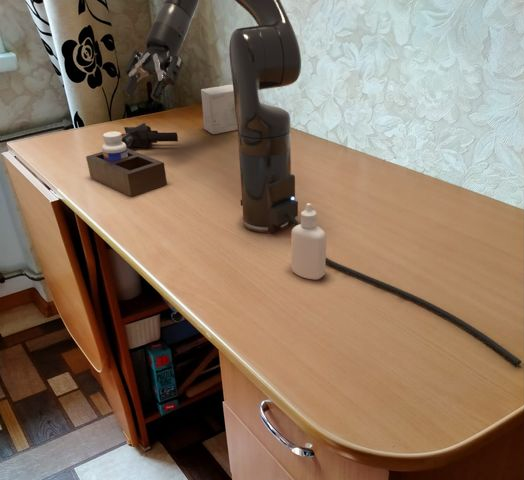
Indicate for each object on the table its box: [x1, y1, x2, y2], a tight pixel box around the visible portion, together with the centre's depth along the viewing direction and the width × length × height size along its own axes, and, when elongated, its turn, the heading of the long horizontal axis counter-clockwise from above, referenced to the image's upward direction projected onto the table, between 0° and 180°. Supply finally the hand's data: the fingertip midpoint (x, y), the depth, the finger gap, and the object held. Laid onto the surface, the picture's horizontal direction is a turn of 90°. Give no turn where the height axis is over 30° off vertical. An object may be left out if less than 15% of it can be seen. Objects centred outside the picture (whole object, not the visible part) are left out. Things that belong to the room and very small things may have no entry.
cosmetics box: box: [200, 83, 238, 135], centre depth 156 cm, size 10×6×10 cm, turn 119°
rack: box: [85, 148, 168, 198], centre depth 129 cm, size 17×9×5 cm, turn 44°
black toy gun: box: [121, 122, 179, 149], centre depth 148 cm, size 5×20×15 cm
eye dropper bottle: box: [290, 202, 327, 281], centre depth 91 cm, size 4×6×12 cm
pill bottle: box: [101, 131, 128, 162], centre depth 130 cm, size 5×5×10 cm
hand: (140, 97), depth 130 cm, fingers open, 8 cm apart
